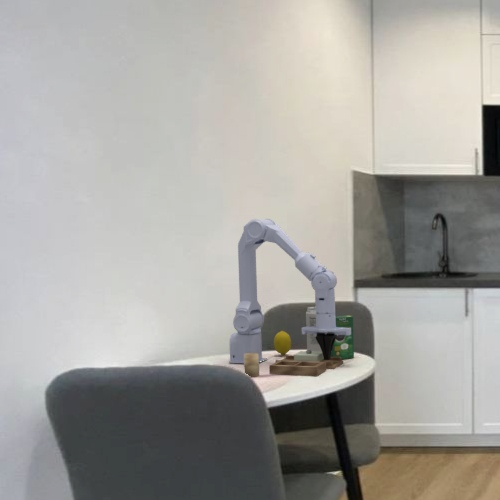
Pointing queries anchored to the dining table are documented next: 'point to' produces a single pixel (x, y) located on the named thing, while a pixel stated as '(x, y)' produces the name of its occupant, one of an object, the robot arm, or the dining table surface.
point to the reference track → (330, 363)
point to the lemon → (282, 343)
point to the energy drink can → (311, 338)
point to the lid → (308, 356)
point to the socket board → (297, 368)
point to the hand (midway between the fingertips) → (327, 359)
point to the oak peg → (251, 364)
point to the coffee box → (344, 339)
